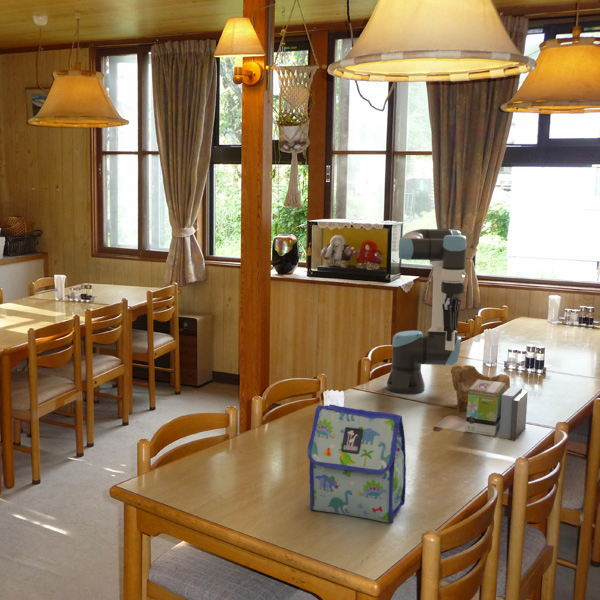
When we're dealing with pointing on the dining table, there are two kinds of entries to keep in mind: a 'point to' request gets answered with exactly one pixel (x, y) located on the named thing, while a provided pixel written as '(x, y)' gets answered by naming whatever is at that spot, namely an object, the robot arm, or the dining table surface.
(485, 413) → the tea box
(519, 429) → the gray square slab
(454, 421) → the shelf board
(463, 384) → the rough brown rock
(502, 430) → the grey upright block
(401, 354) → the robot arm
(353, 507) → the lunch bag
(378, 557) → the dining table surface
